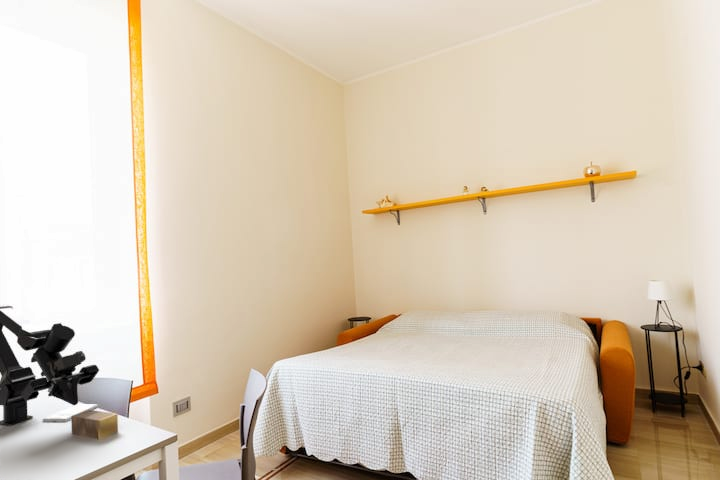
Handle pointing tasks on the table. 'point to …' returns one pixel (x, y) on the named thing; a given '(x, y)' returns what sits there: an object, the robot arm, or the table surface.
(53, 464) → the table surface
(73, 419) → the walnut block
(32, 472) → the table surface
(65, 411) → the external hard drive
